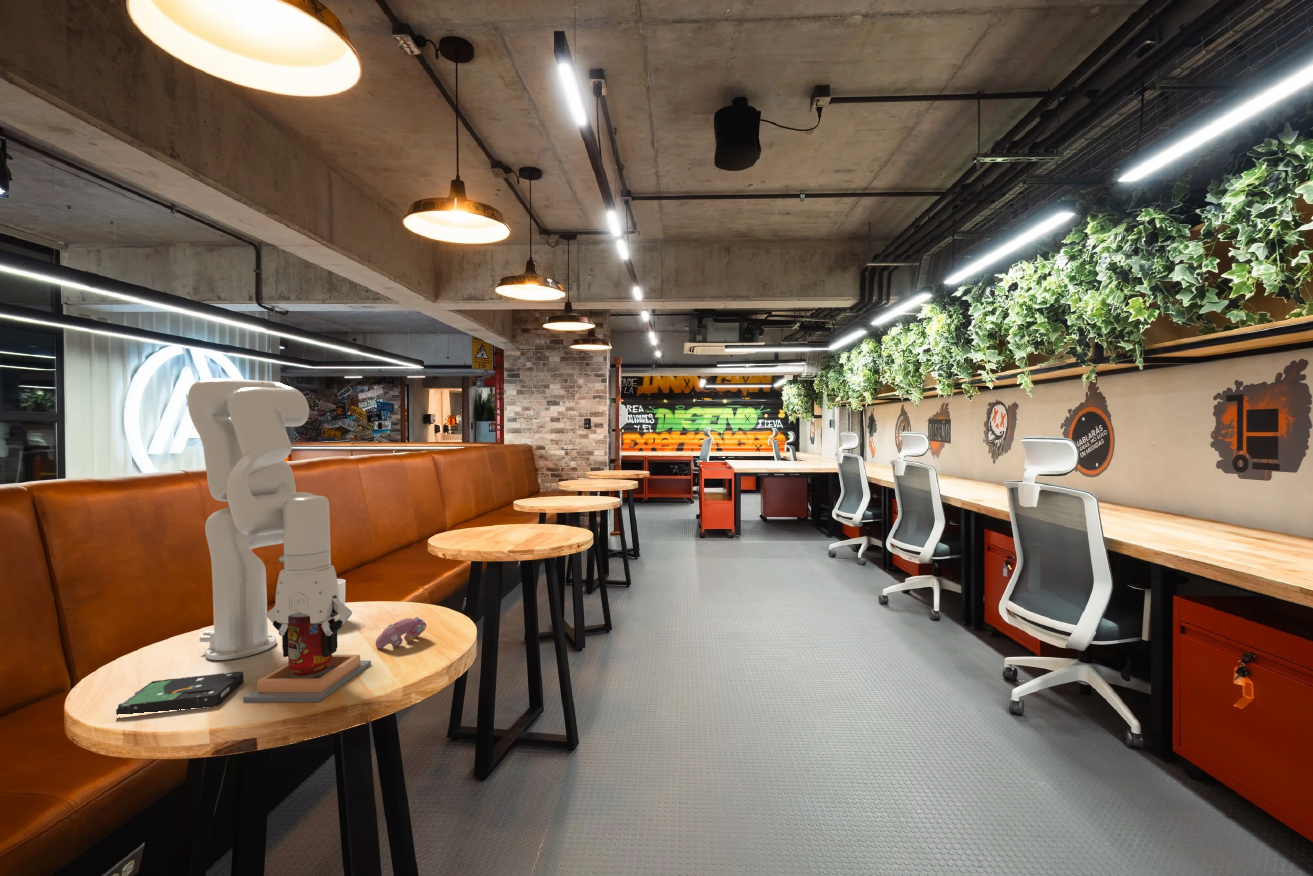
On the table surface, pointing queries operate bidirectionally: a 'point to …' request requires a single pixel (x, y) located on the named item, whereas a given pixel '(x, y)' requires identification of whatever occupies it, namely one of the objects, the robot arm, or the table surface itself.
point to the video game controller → (401, 632)
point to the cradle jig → (306, 682)
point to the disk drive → (182, 693)
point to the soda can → (305, 646)
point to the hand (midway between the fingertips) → (310, 653)
